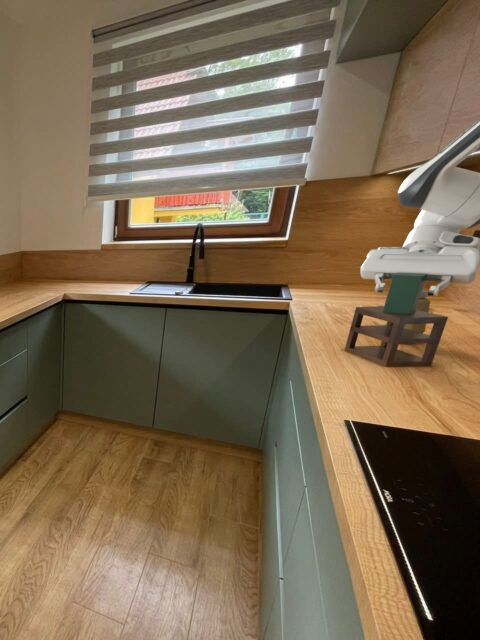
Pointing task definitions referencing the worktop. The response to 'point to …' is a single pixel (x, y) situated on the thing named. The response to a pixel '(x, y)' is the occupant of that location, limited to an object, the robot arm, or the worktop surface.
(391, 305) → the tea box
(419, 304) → the squeeze bottle
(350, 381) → the worktop surface
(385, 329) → the rack
